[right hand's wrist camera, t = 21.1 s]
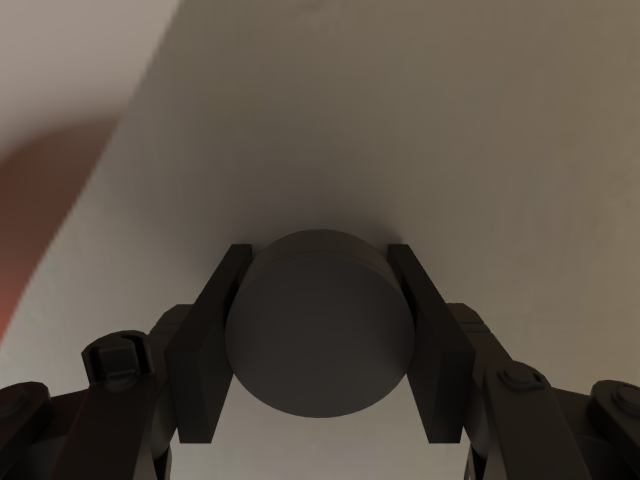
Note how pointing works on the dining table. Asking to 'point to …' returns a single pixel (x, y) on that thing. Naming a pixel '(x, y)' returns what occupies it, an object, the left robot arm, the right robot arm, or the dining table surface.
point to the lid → (319, 326)
